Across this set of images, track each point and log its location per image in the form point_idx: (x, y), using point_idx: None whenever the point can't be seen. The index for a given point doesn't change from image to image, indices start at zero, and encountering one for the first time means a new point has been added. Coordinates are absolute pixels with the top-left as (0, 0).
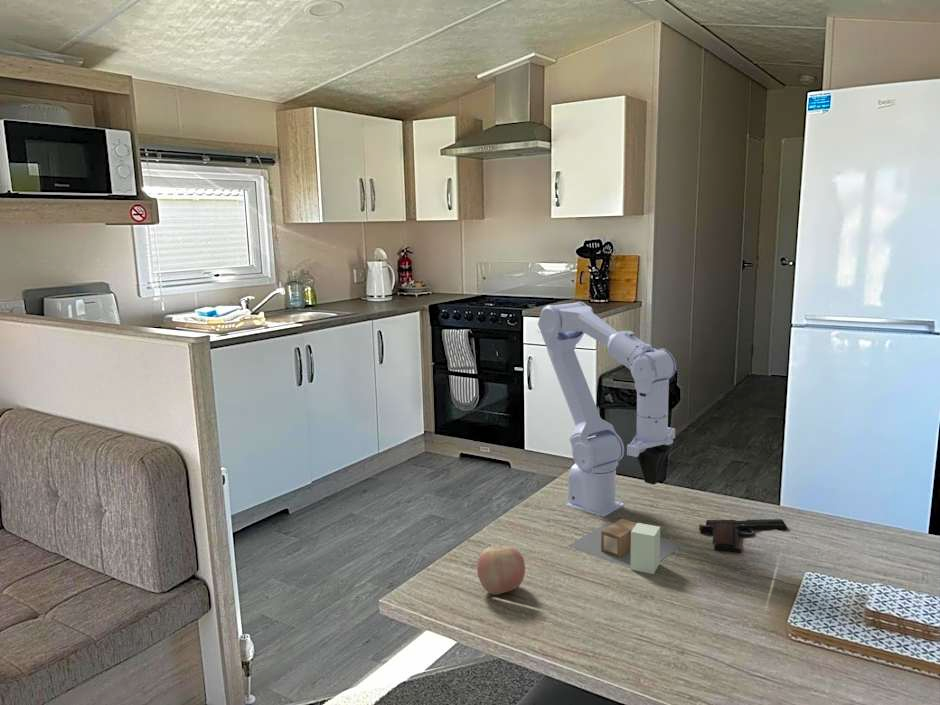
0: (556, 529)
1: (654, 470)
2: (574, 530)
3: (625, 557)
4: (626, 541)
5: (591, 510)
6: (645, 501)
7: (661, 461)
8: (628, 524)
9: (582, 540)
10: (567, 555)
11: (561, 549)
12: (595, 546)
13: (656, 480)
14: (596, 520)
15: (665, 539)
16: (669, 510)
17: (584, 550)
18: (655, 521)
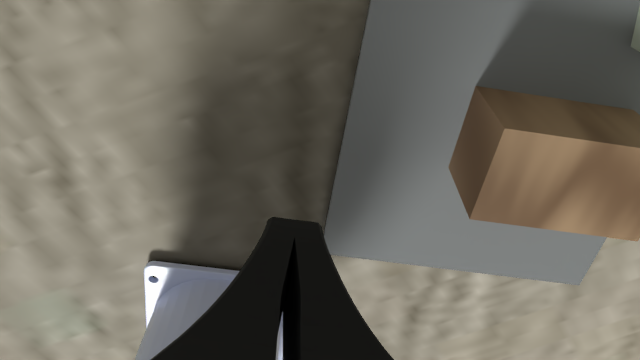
0: (452, 347)
1: (349, 304)
2: (436, 308)
3: (622, 93)
4: (616, 127)
5: (280, 325)
6: (42, 214)
7: (271, 334)
8: (528, 174)
9: (522, 265)
10: (634, 260)
11: (594, 288)
12: None
13: (301, 231)
14: None
15: (375, 7)
16: (46, 104)
17: None
18: (198, 115)
